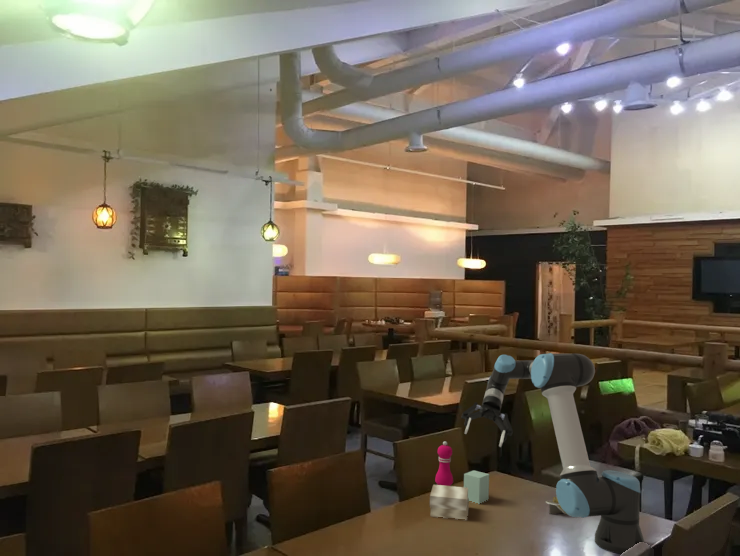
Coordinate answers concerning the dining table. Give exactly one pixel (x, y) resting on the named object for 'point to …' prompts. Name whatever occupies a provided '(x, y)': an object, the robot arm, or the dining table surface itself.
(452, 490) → the top block
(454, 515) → the bottom block
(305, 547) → the dining table surface
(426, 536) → the dining table surface
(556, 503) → the platform
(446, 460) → the pepper mill
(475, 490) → the sage block
